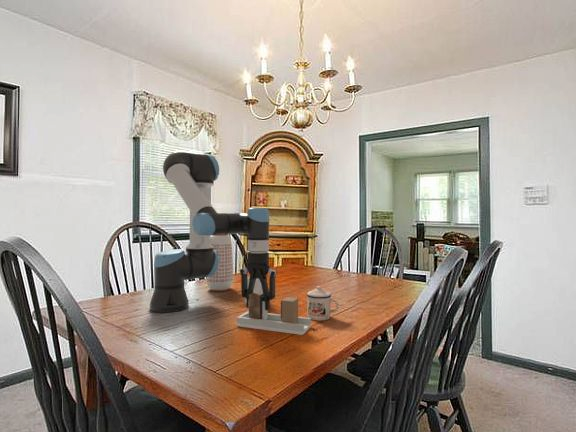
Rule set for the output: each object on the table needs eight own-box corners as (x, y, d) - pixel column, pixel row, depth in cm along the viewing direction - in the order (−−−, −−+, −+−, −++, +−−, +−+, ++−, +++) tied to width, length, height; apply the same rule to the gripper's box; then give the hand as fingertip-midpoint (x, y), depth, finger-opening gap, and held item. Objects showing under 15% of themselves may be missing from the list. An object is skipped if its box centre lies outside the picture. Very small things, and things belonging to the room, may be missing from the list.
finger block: (248, 320, 123) (249, 294, 123) (255, 316, 128) (255, 291, 128) (261, 321, 122) (261, 295, 122) (266, 317, 126) (267, 292, 126)
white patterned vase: (230, 292, 173) (230, 234, 173) (203, 292, 173) (203, 234, 173) (235, 286, 187) (235, 233, 186) (209, 286, 187) (209, 232, 186)
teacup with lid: (303, 319, 131) (303, 287, 131) (310, 312, 139) (310, 283, 139) (335, 323, 127) (336, 290, 127) (340, 316, 135) (341, 285, 135)
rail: (236, 326, 123) (237, 297, 123) (248, 319, 131) (248, 291, 131) (302, 334, 114) (303, 303, 114) (310, 326, 123) (310, 297, 122)
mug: (259, 307, 147) (259, 280, 146) (240, 305, 150) (240, 279, 150) (272, 301, 157) (272, 276, 157) (254, 298, 161) (255, 274, 161)
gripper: (230, 251, 124) (230, 318, 125) (277, 254, 118) (277, 324, 118) (241, 249, 131) (240, 312, 132) (285, 251, 125) (285, 318, 125)
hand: (258, 318), depth 125 cm, fingers closed on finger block, 5 cm apart
